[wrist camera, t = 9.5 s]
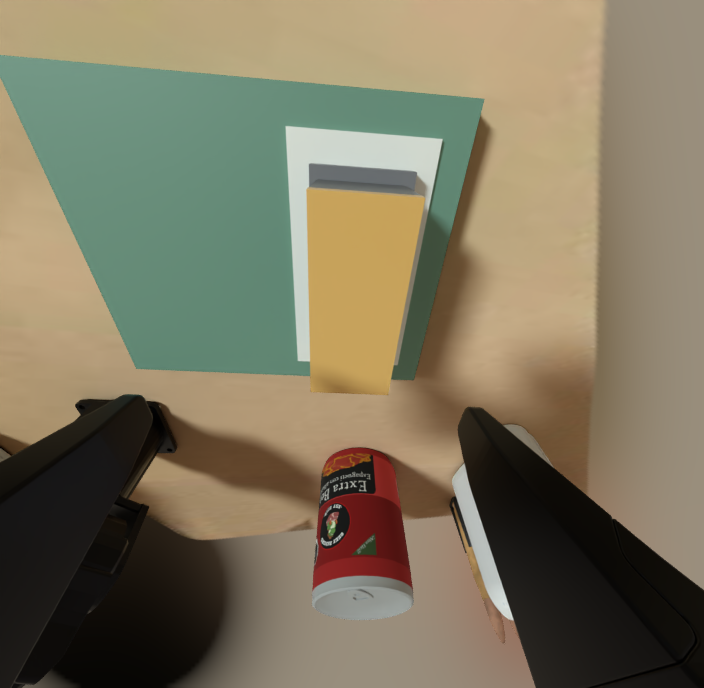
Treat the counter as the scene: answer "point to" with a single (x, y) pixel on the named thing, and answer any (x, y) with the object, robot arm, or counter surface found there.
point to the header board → (230, 198)
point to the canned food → (360, 540)
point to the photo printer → (476, 528)
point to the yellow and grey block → (358, 281)
